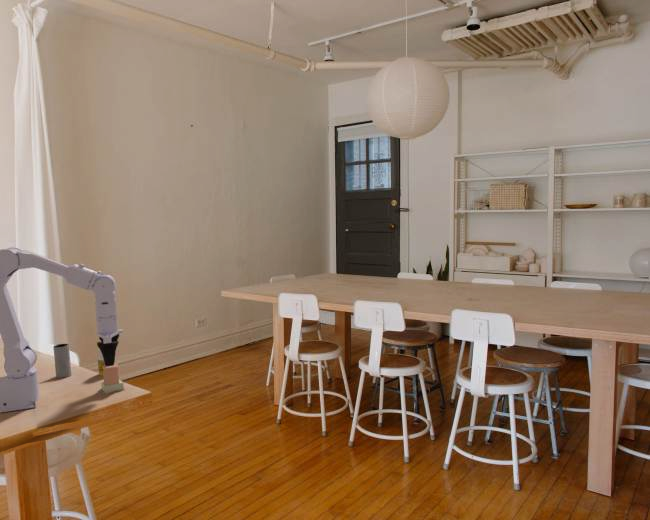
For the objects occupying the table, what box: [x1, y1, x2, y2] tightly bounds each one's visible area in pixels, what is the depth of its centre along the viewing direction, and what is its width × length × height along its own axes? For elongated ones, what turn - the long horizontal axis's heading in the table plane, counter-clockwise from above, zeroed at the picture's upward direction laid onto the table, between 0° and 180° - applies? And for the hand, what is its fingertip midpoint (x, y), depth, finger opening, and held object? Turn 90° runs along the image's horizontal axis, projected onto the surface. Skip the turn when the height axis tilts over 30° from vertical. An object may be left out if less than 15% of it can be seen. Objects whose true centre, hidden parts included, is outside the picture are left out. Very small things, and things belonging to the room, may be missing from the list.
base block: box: [99, 387, 126, 395], centre depth 156 cm, size 6×6×2 cm
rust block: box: [102, 362, 120, 386], centre depth 155 cm, size 4×4×5 cm
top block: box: [100, 378, 125, 394], centre depth 156 cm, size 5×5×2 cm
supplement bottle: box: [97, 348, 117, 377], centre depth 172 cm, size 5×5×10 cm
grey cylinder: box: [53, 343, 72, 379], centre depth 175 cm, size 4×4×10 cm
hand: (110, 362), depth 155 cm, fingers open, 7 cm apart
